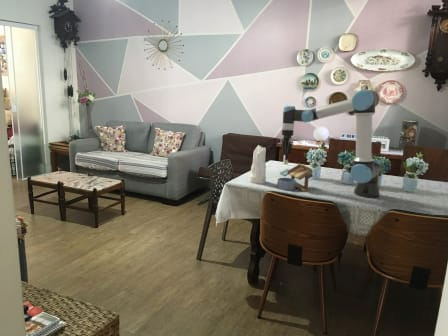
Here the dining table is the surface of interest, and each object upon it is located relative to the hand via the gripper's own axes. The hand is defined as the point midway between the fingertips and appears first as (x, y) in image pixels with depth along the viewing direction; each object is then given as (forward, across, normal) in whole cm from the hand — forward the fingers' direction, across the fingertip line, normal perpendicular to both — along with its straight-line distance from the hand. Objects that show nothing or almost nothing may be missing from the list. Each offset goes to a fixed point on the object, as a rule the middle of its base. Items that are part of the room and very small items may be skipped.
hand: (285, 164), depth 245 cm
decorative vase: (+14, -7, -17) cm, 23 cm away
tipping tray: (+7, +8, +6) cm, 12 cm away
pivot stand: (+14, +11, +5) cm, 18 cm away
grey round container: (+14, +11, -4) cm, 18 cm away
